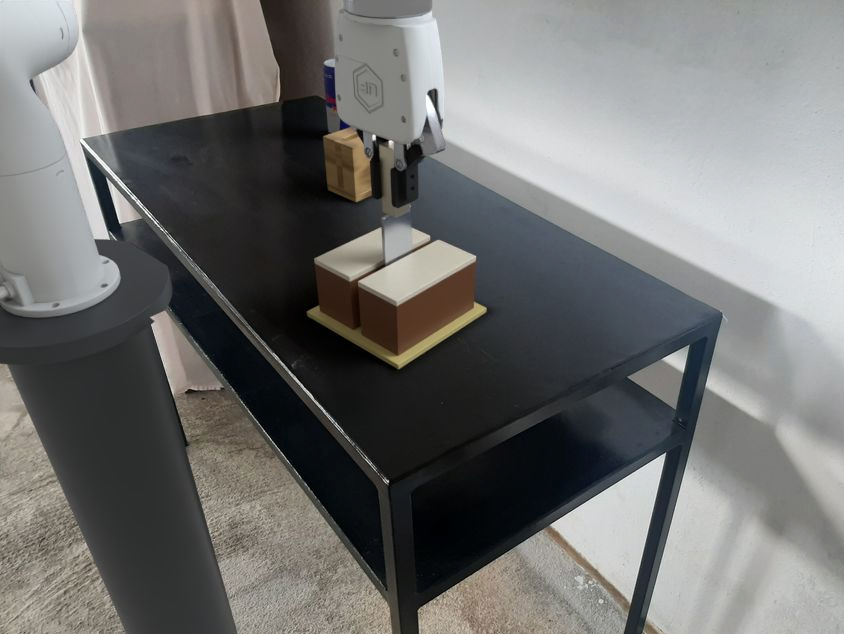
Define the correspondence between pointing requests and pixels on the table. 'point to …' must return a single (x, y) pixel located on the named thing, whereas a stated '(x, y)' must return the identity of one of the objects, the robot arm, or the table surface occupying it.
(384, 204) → the knife
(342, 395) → the table surface
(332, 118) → the energy drink
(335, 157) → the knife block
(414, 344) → the cake
